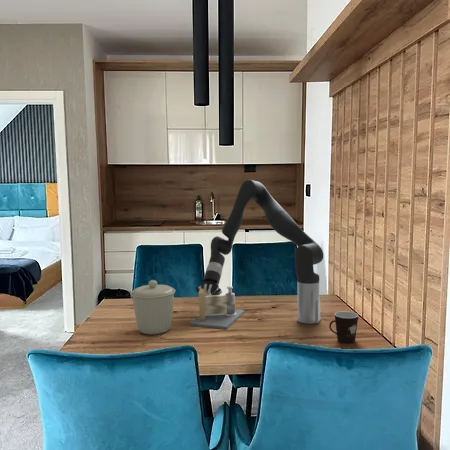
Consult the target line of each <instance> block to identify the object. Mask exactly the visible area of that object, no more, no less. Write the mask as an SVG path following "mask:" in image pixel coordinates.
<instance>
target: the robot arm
mask: <svg viewBox="0 0 450 450" xmlns="http://www.w3.org/2000/svg"><path fill="white" fill-rule="evenodd" d="M267 189H268V188H266V186H265V185H264V184H263V183H261V182H260V181H256V180H254V179H246V180H244V181H243V182H242V184H241V185H240V188H239V190H238V194H237V196H236V199H235V201H234V203H233V207H232V209H231V212H230V214H229V215H228V219H227V220H226V222H225V224H224V225H223V227H222V229H221V233H222V235H224V236H225V237H226V238H227V239H225V238H224V237H220V236H214V237H213V238H212V239H211V241H210V258H209V261H208V265H206V266H207V267H206V269H205V271H204V272H205V273H204V275H203V280H202V282H201V284H200V286H196V287H195V290H196V291H197V294H198V293H199V290H200V289H207V293H206V296H209V295H222V294H223V290H222V288H220V287H219V286H220V282H221V278H222V274H223V269H224V264H225V261H226V258H225V256H226V255H227V256H228V255H229V254H230V253H231V252H232V250H233V249H232V248H233V246H234V240H235V237H236V235H237V234H238V231H239V230H240V228H241V226H242V223H243V218H244V212H245V208H246V206H247V204H248V203H249V202H250V201H253V202H255V203H256V204H257V205H258V206H259V207H260V208H261V209H262V210H263V212H264V214H265V219H266V221H267V222H268V224H269V225H270V227H272V229H273V230H274V231H275V232H276V234H279V235H280V237H281V236H282V237H283V238H285V239H286V240H289V241H290V242H291V243H293V244H294V245H296V248H295V251H294V269H295V270H294V271H295V276H296V279H297V283H296V284H297V321H298V322H299V323H302V324H307V325H308V324H309V325H310V324H319V322H321V321H320V320H321V298H320V275H319V274H318V273H316V272H315V271H314V265H319V264H320V263H321V262H322V261H323V260H324V252H323V249H322V247H321V246H320V245H319V244H318V243H317V242H316V241H315V240H314V239H312V238H311V237H310V235H308V234H307V233H306V232H305V231H304V230H303V229H302V228H301V227H300V225H298V224H297V223H296V221H295V220H294V219H293V217H291V215H290V214H289V213H288V212H287V211H286V210H285V209H284V208H283V207H282V206H281V205H280V204H279V203H278V201H277V200H275V199H274V198H273V196H272V195H271V194H270V192H269V191H268V190H267Z"/></svg>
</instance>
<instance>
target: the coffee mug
mask: <svg viewBox="0 0 450 450" xmlns="http://www.w3.org/2000/svg"><path fill="white" fill-rule="evenodd" d="M358 321H359V313H356V312H353V311H349V310H348V311H345V310H343V311H341V310H340V311H337V312H334V320H331V321H330V322H329V324H328V327H329V330H330V331H331V332H332V333H333V334H335V335H336V339H337V342H338V343H341V344H346V345H347V344H349V345H351V344H353V343H355V342H356V337H357V328H358ZM333 323H335V330H336V331H335V330H334V329H332V324H333Z"/></svg>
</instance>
